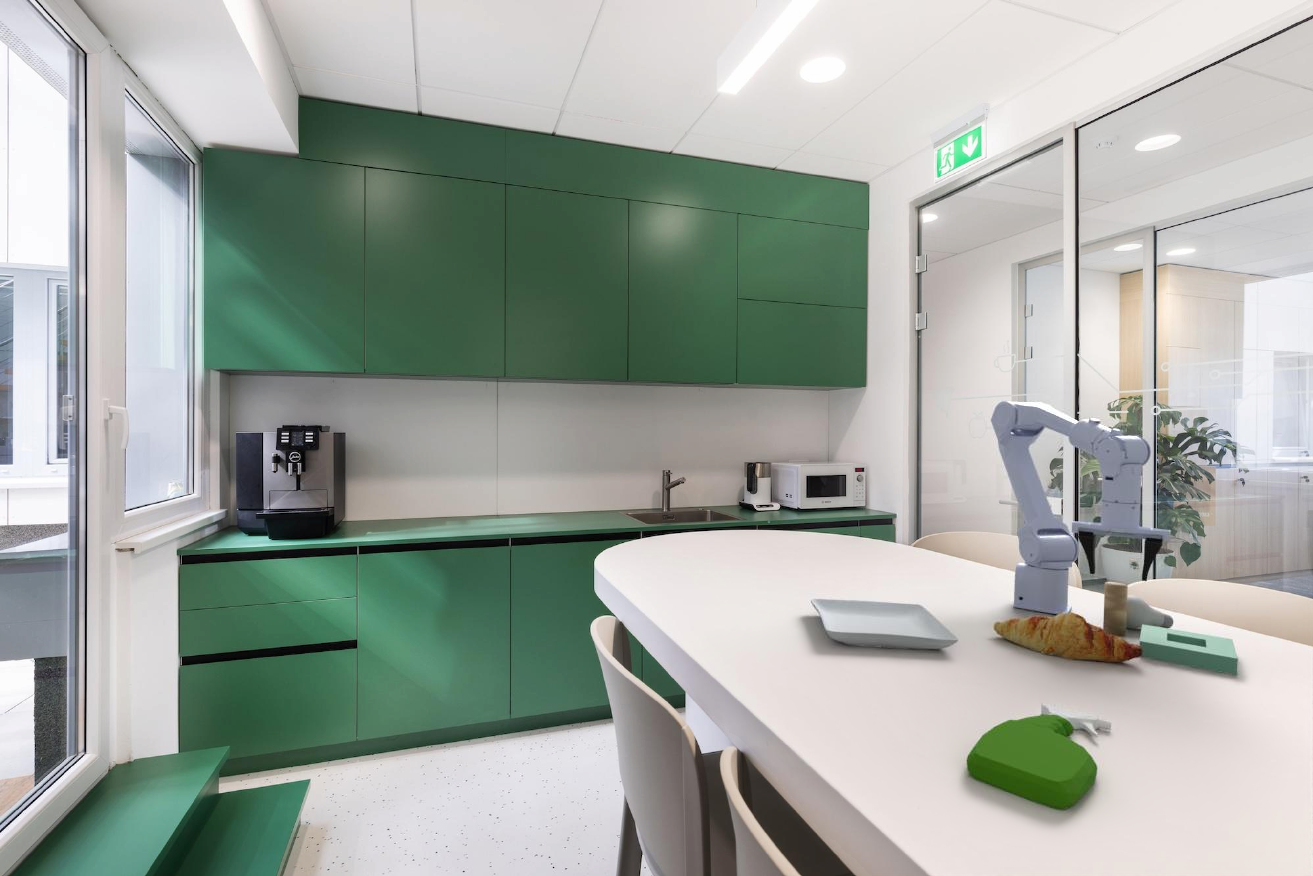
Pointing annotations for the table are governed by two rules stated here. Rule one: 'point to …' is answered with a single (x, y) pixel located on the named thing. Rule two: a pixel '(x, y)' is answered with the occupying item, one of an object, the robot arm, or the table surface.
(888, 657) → the table surface
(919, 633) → the salad plate
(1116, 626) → the dowel
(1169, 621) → the lightbulb
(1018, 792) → the spray bottle
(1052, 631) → the croissant
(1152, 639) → the socket block
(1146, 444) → the robot arm
